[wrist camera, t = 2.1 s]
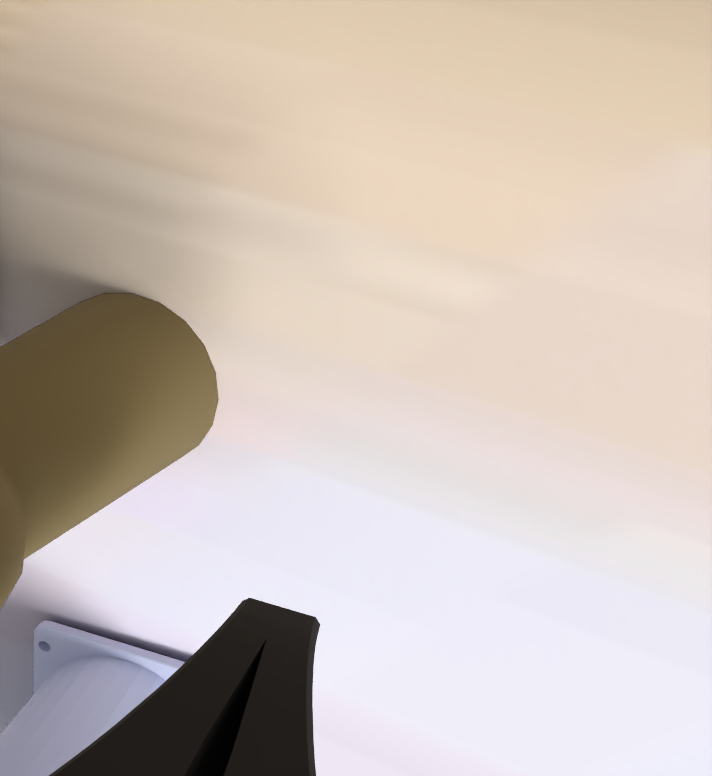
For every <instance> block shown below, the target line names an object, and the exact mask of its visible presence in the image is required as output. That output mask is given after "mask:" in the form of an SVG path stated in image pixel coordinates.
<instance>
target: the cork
mask: <svg viewBox="0 0 712 776" xmlns="http://www.w3.org/2000/svg"><path fill="white" fill-rule="evenodd" d="M217 404H218V391H217V381H216V372H215V370H214V367H213V365H212V363H211V360H210V358H209V355H208V353H207V350H206V348H205V346H204V344H203V343H202V342H201V340H200V339H199V338H198V337H197V335H196V334H195V333H194V332H193V330H192V329H191V328H190V327H189V325H188V324H187V323H186V322H185V321H184V320H183V319H181V318H180V317H179V316H177V315H176V314H174V313H173V312H172V311H170V310H169V309H168V308H166V307H165V306H163V305H162V304H161V303H158V302H155V301H152V300H149V299H147V298H144V297H141V296H138V295H135V294H125V293H104V294H101V295H98V296H96V297H93V298H90V299H87V300H84V301H81V302H79V303H78V304H76V305H74V306H72V307H71V308H69V309H67V310H65V311H63V312H62V313H60V314H58V315H56V316H55V317H53V318H51V319H49V320H47V321H46V322H44V323H42V324H40V325H39V326H37V327H35V328H33V329H31V330H30V331H28V332H26V333H24V334H23V335H21V336H19V337H17V338H15V339H14V340H12V341H10V342H8V343H7V344H5V345H3V346H1V347H0V609H1V607H2V606H3V604H4V603H5V601H6V599H7V598H8V596H9V595H10V593H11V591H12V589H13V588H14V586H15V584H16V583H17V581H18V579H19V577H20V576H21V574H22V568H23V560H24V559H25V558H27V557H28V556H30V555H31V554H33V553H34V552H36V551H38V550H39V549H41V548H42V547H44V546H45V545H47V544H48V543H50V542H51V541H53V540H55V539H56V538H58V537H59V536H61V535H62V534H64V533H65V532H67V531H68V530H70V529H72V528H73V527H75V526H76V525H78V524H79V523H81V522H82V521H84V520H85V519H87V518H89V517H90V516H92V515H93V514H95V513H96V512H98V511H99V510H101V509H102V508H104V507H106V506H107V505H109V504H110V503H112V502H113V501H115V500H116V499H118V498H119V497H121V496H123V495H124V494H126V493H127V492H129V491H130V490H132V489H133V488H135V487H136V486H138V485H140V484H141V483H143V482H144V481H146V480H147V479H149V478H150V477H152V476H153V475H155V474H157V473H158V472H160V471H161V470H163V469H164V468H166V467H167V466H169V465H170V464H172V463H174V462H175V461H177V460H178V459H180V458H181V457H183V456H184V455H185V454H187V453H188V452H190V451H191V450H193V449H194V448H196V447H197V446H198V445H199V444H200V443H201V441H202V440H203V438H204V437H205V435H206V434H207V432H208V431H209V429H210V428H211V427H212V425H213V421H214V416H215V412H216V408H217Z"/></svg>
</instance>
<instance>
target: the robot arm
mask: <svg viewBox="0 0 712 776" xmlns="http://www.w3.org/2000/svg"><path fill="white" fill-rule="evenodd" d="M319 627H320V623H319V622H318V620H317V619H316V617H313V616H309V615H306V614H303V613H299V612H296V611H292V610H289V609H286V608H282V607H279V606H275V605H272V604H269V603H265V602H262V601H258V600H255V599H252V598H248V599H246V600H244V601H242V602H241V604H240V605H239V606H238V607H237V609H236V610H235V611H234V612H233V613H232V614H231V616H230V617H229V618H228V619H227V620H226V621H225V622H224V623H223V625H222V626H221V627H220V628H219V629H218V630H217V631H216V632H215V633H214V634H213V635H212V636H211V637H210V638H209V639H208V640H207V641H206V642H205V643H204V644H203V646H202V647H201V648H200V649H199V650H198V651H197V652H196V653H195V654H194V655H192V656H191V657H190V658H189V659H188V660H187V661H186V662H183V661H180V660H177V659H174V658H170V657H167V656H164V655H160V654H157V653H154V652H151V651H147V650H144V649H141V648H138V647H134V646H131V645H128V644H124V643H121V642H118V641H115V640H111V639H108V638H105V637H102V636H98V635H95V634H92V633H88V632H85V631H82V630H79V629H75V628H72V627H69V626H66V625H62V624H59V623H56V622H52V621H42V622H41V623H40V624H39V625H38V626H37V627H36V628H35V630H34V665H33V696H32V697H31V698H30V699H29V700H28V702H27V703H26V704H25V705H24V706H23V708H22V709H21V710H20V711H19V712H18V714H17V715H16V716H15V717H14V718H13V720H12V721H11V722H10V723H9V724H8V726H7V727H6V728H5V729H4V731H3V732H2V733H1V734H0V776H316V771H315V759H314V743H313V712H312V683H313V663H314V653H315V645H316V639H317V635H318V631H319Z"/></svg>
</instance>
